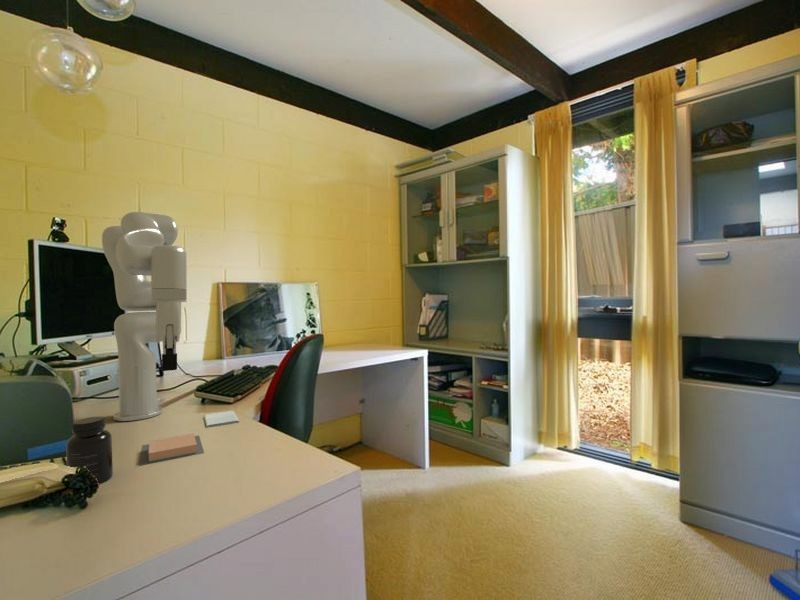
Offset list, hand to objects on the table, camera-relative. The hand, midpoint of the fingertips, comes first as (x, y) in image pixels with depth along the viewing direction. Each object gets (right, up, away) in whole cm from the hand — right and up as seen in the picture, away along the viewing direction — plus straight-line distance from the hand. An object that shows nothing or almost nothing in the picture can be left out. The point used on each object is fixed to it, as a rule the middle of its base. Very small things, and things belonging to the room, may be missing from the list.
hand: (169, 369), depth 97 cm
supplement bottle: (-2, -18, -23) cm, 29 cm away
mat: (+5, -17, -7) cm, 19 cm away
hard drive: (+6, -18, +16) cm, 25 cm away
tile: (+3, -16, -5) cm, 17 cm away
